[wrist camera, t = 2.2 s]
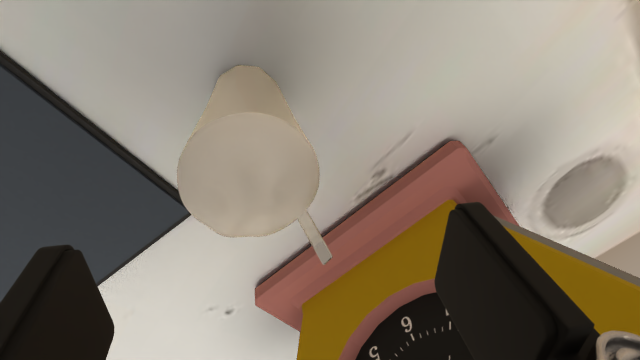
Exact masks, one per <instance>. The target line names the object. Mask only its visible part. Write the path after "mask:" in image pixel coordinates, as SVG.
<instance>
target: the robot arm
mask: <svg viewBox="0 0 640 360" xmlns="http://www.w3.org/2000/svg"><path fill="white" fill-rule="evenodd" d="M434 283H435V289H436V292H437V294H438V296H439V298H440V299H441V301H442V303H443V305H444V307H445V308H446V310H447V312H448V314H449V316H450V317H451V319H452V321H453V323H454V324H455V326H456V328H457V330H458V332H459V333H460V335H461V337H462V339H463V341H464V342H465V344H466V346H467V348H468V350H469V351H470V353H471V355H472V357H473V359H474V360H640V336H638V335H636V334H632V333H629V332H625V331H613V330H612V331H608V332H604V333H603V334H601V335H600V334H599V333H598V332H597V331H596V330H595V329H594V326H595V324H594V323H593V322H592V321H591V320H590V319H589V318H588V317H587V316H586V315H585V313H584V312H583V311H582V310H581V309H580V308H579V307H578V306H577V305H576V304H575V303H574V302H573V301H572V300H571V298H570V297H569V296H568V295H567V294H566V293H565V292H564V291H563V290H562V289H561V288H560V287H559V286H558V285H557V283H556V282H555V281H554V280H553V279H552V278H551V277H550V276H549V275H548V274H547V273H546V272H545V271H544V270H543V268H542V267H541V266H540V265H539V264H538V263H537V262H536V261H535V260H534V259H533V258H532V257H531V256H530V255H529V253H528V252H527V251H526V250H525V249H524V248H523V247H522V246H521V245H520V244H519V243H518V242H517V241H516V240H515V238H514V237H513V236H512V235H511V234H510V233H509V232H508V231H507V230H506V229H505V228H504V227H503V226H502V225H501V223H500V222H499V221H498V220H497V219H496V218H495V217H494V216H493V215H492V214H491V213H490V212H489V211H488V209H487V208H486V207H485V206H484V205H483V204H482V203H480V202H471V203H461V204H457V205H456V206H455V209H454V210H451V211H450V213H449V216H448V221H447V225H446V230H445V234H444V239H443V243H442V248H441V252H440V257H439V262H438V266H437V271H436V275H435V281H434ZM113 336H114V324H113V321H112V319H111V316H110V314H109V312H108V310H107V307H106V305H105V303H104V301H103V298H102V296H101V294H100V292H99V289H98V287H97V285H96V283H95V280H94V278H93V276H92V274H91V271H90V269H89V267H88V265H87V262H86V260H85V258H84V256H83V253H82V252H81V251H80V250H74V248H73V247H72V246H71V245H57V246H48V247H42V248H39V249H38V250H37V251H36V253H35V254H34V255H33V257H32V258H31V260H30V261H29V263H28V264H27V265H26V267H25V268H24V270H23V271H22V273H21V274H20V275H19V277H18V278H17V280H16V281H15V283H14V284H13V285H12V287H11V288H10V290H9V291H8V293H7V294H6V295H5V297H4V298H3V300H2V301H1V302H0V360H106V357H107V354H108V351H109V348H110V345H111V343H112V340H113Z"/></svg>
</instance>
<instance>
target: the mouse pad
mask: <svg viewBox="0 0 640 360" xmlns="http://www.w3.org/2000/svg"><path fill="white" fill-rule="evenodd" d="M190 215H191V214H190V213H189V211H188V210H187V209H186V207H185V206H184V204H183V202H182V200H181V197H180V194H179V192H178V191H177V190H176V189H175V188H173V187H172V186H171V185H169V184H168V183H167V182H166V181H164V180H163V179H162V178H161V177H159V176H158V175H157V174H156V173H154V172H153V171H152V170H150V169H149V168H148V167H147V166H145V165H144V164H143V163H142V162H140V161H139V160H138V159H137V158H135V157H134V156H133V155H131V154H130V153H129V152H128V151H126V150H125V149H124V148H123V147H121V146H120V145H119V144H117V143H116V142H115V141H114V140H112V139H111V138H110V137H109V136H107V135H106V134H105V133H104V132H102V131H101V130H100V129H98V128H97V127H96V126H95V125H93V124H92V123H91V122H90V121H88V120H87V119H86V118H85V117H83V116H82V115H81V114H79V113H78V112H77V111H76V110H74V109H73V108H72V107H71V106H69V105H68V104H67V103H66V102H64V101H63V100H62V99H60V98H59V97H58V96H57V95H55V94H54V93H53V92H52V91H50V90H49V89H48V88H47V87H45V86H44V85H43V84H41V83H40V82H39V81H38V80H36V79H35V78H34V77H33V76H31V75H30V74H29V73H27V72H26V71H25V70H24V69H22V68H21V67H20V66H19V65H17V64H16V63H15V62H14V61H12V60H11V59H10V58H8V57H7V56H6V55H5V54H3V53H2V52H1V51H0V302H1V301H2V300H3V298H4V297H5V295H6V294H7V293H8V291H9V290H10V288H11V287H12V285H13V284H14V283H15V281H16V280H17V278H18V277H19V275H20V274H21V273H22V271H23V270H24V268H25V267H26V265H27V264H28V263H29V261H30V260H31V258H32V257H33V255H34V254H35V253H36V251H37V250H38V249H39V248H42V247H48V246H57V245H71V246H72V247H73V248H74V250H80V251H81V252H82V253H83V256H84V258H85V260H86V262H87V265H88V267H89V269H90V271H91V274H92V276H93V278H94V280H95V283H96V285H97V286H99V285H100V284H101V283H102V282H104V281H105V280H106V279H108V278H109V277H110V276H112V275H113V274H114V273H116V272H117V271H118V270H120V269H121V268H122V267H123V266H125V265H126V264H127V263H129V262H130V261H131V260H133V259H134V258H135V257H137V256H138V255H139V254H141V253H142V252H143V251H144V250H146V249H147V248H148V247H150V246H151V245H152V244H154V243H155V242H156V241H158V240H159V239H160V238H161V237H163V236H164V235H165V234H167V233H168V232H169V231H171V230H172V229H173V228H175V227H176V226H177V225H179V224H180V223H181V222H182V221H184V220H185V219H186V218H188V217H189V216H190Z"/></svg>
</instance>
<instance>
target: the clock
mask: <svg viewBox="0 0 640 360" xmlns="http://www.w3.org/2000/svg"><path fill="white" fill-rule="evenodd" d="M471 202H480V203H482V204H483V205H484V206H485V207H486V208H487V209H488V211H489V212H490V213H491V214H492V215H493V216H494V217H495V218H496V219H497V220H498V221H499V222H500V223H501V225H502V226H503V227H504V228H505V229H506V230H507V231H508V232H509V233H510V234H511V235H512V236H513V237H514V238H515V240H516V241H517V242H518V243H519V244H520V245H521V246H522V247H523V248H524V249H525V250H526V251H527V252H528V253H529V255H530V256H531V257H532V258H533V259H534V260H535V261H536V262H537V263H538V264H539V265H540V266H541V267H542V268H543V270H544V271H545V272H546V273H547V274H548V275H549V276H550V277H551V278H552V279H553V280H554V281H555V282H556V283H557V285H558V286H559V287H560V288H561V289H562V290H563V291H564V292H565V293H566V294H567V295H568V296H569V297H570V298H571V300H572V301H573V302H574V303H575V304H576V305H577V306H578V307H579V308H580V309H581V310H582V311H583V312H584V313H585V315H586V316H587V317H588V318H589V319H590V320H591V321H592V322H593V323H594V324H595V326H594V329H595V330H596V331H597V332H598V333H599V334H600V335H601V334H603V333H604V332H608V331H612V330H613V331H625V332H629V333H632V334H636V335H638V336H640V278H638V277H636V276H633V275H631V274H629V273H626V272H624V271H622V270H619V269H617V268H615V267H612V266H610V265H608V264H606V263H603V262H601V261H599V260H596V259H594V258H592V257H589V256H587V255H585V254H582V253H580V252H578V251H575V250H573V249H571V248H568V247H566V246H564V245H561V244H559V243H557V242H554V241H552V240H550V239H547V238H545V237H543V236H540V235H538V234H536V233H533V232H531V231H529V230H526V229H524V228H522V227H519V225H518V223H517V222H516V220H515V219H514V217H513V216H512V214H511V213H510V212H509V210H508V209H507V207H506V206H505V204H504V203H503V201H502V200H501V198H500V197H499V195H498V194H497V192H496V191H495V189H494V188H493V186H492V185H491V183H490V182H489V181H488V179H487V178H486V176H485V175H484V173H483V172H482V170H481V169H480V167H479V166H478V164H477V163H476V161H475V160H474V158H473V157H472V155H471V154H470V152H469V151H468V150H467V148H466V147H465V146H464V145H463V144H462V143H461V142H460V141H450V142H448V143H447V144H446V145H444V146H443V147H442V148H440V149H439V150H438V151H436V152H435V153H434V154H432V155H431V156H430V157H428V158H427V159H426V160H424V161H423V162H422V163H420V164H419V165H418V166H416V167H415V168H414V169H413V170H411V171H410V172H409V173H407V174H406V175H405V176H403V177H402V178H401V179H399V180H398V181H397V182H395V183H394V184H393V185H391V186H390V187H389V188H387V189H386V190H385V191H383V192H382V193H381V194H379V195H378V196H377V197H376V198H374V199H373V200H372V201H370V202H369V203H368V204H366V205H365V206H364V207H362V208H361V209H360V210H358V211H357V212H356V213H354V214H353V215H352V216H350V217H349V218H348V219H346V220H345V221H344V222H343V223H341V224H340V225H339V226H337V227H336V228H335V229H333V230H332V231H331V232H329V233H328V234H327V235H325V236H324V237H323V240H324V241H325V243H326V245H327V247H328V248H329V250H330V252H331V254H332V256H333V258H332V259H331V260H330V261H328V262H327V263H326V264H325V265H323V264H322V263H321V261H320V259H319V257H318V255H317V254H316V252H315V250H314V248H313V246H311V247H309V248H308V249H307V250H306V251H304V252H303V253H302V254H300V255H299V256H298V257H296V258H295V259H294V260H292V261H291V262H290V263H288V264H287V265H286V266H284V267H283V268H282V269H280V270H279V271H278V272H276V273H275V274H274V275H272V276H271V277H270V278H269V279H267V280H266V281H265V282H263V283H262V284H261V285H259V286H258V287H257V288H255V305H256V306H258V307H259V308H261V309H263V310H264V311H266V312H268V313H269V314H271V315H273V316H274V317H276V318H278V319H279V320H281V321H283V322H284V323H286V324H288V325H290V326H291V327H293V328H295V329H296V330H298V331H300V339H299V346H298V353H297V360H474V359H473V357H472V355H471V353H470V351H469V350H468V348H467V346H466V344H465V342H464V341H463V339H462V337H461V335H460V333H459V332H458V330H457V328H456V326H455V324H454V323H453V321H452V319H451V317H450V316H449V314H448V312H447V310H446V308H445V307H444V305H443V303H442V301H441V299H440V298H439V296H438V294H437V292H436V289H435V283H434V281H435V275H436V271H437V266H438V262H439V257H440V252H441V248H442V243H443V239H444V234H445V230H446V225H447V221H448V216H449V213H450V211H451V210H454V209H455V206H456V205H457V204H461V203H471Z"/></svg>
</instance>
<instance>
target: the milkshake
mask: <svg viewBox="0 0 640 360" xmlns="http://www.w3.org/2000/svg"><path fill="white" fill-rule="evenodd" d="M177 183H178V190H179V194H180V197H181V200H182V202H183V204H184V206H185V207H186V209H187V210H188V211H189V213H190V214H191V215H192V216H194V217H195V218H196V219H197V220H199V221H200V222H202V223H203V224H204V225H206V226H207V227H209V228H210V229H212V230H213V231H215V232H216V233H218V234H220V235H223V236H226V237H247V236H266V235H270V234H273V233H275V232H277V231H279V230H281V229H283V228H285V227H287V226H288V225H290V224H291V223H292V222H294V221H295V220H296V219H298V221H299V223H300V224H301V226H302V228H303V230H304V232H305V234H306V235H307V237H308V239H309V241H310V243H311V244H312V246H313V248H314V250H315V252H316V254H317V255H318V257H319V259H320V261H321V263H322V264H323V265H325V264H326V263H327V262H328V261H330V260H331V259H332V258H333V256H332V254H331V252H330V250H329V248H328V247H327V245H326V243H325V241H324V240H323V238H322V236H321V234H320V233H319V231H318V229H317V228H316V226H315V224H314V222H313V221H312V219H311V217H310V215H309V214H308V212H307V210H306V209H307V208H308V207H309V205H310V204H311V202H312V201H313V199H314V197H315V195H316V193H317V190H318V186H319V164H318V160H317V156H316V153H315V151H314V149H313V147H312V145H311V144H310V142H309V141H308V139H307V137H306V136H305V134H304V132H303V131H302V129H301V128H300V126H299V124H298V123H297V121H296V119H295V118H294V116H293V114H292V112H291V110H290V108H289V106H288V104H287V102H286V100H285V98H284V96H283V94H282V92H281V90H280V89H279V87H278V85H277V83H276V81H275V80H274V79H273V78H272V77H270V76H269V75H268V74H267V73H266V72H264V71H263V70H262V69H261V68H260V67H255V66H244V65H237V66H235V67H233V68H232V69H230V70H228V71H227V72H225V73H223V74H222V75H220V76H219V78H218V81H217V83H216V85H215V88H214V90H213V92H212V95H211V97H210V99H209V102H208V104H207V106H206V108H205V110H204V112H203V114H202V116H201V118H200V119H199V121H198V123H197V125H196V127H195V128H194V130H193V132H192V134H191V136H190V138H189V140H188V141H187V143H186V145H185V147H184V149H183V151H182V153H181V156H180V159H179V163H178V169H177Z"/></svg>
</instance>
